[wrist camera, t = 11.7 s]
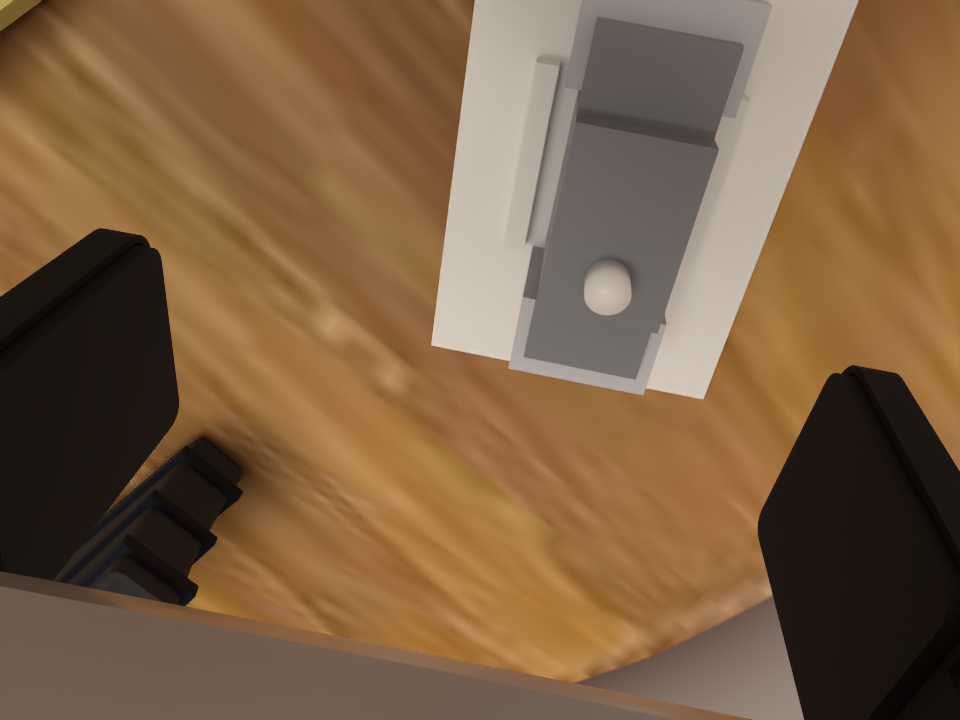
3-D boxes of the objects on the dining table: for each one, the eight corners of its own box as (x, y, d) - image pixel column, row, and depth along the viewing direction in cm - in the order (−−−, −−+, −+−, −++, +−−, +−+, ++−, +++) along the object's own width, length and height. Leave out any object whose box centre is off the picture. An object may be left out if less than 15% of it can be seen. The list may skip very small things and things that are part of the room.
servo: (597, -2, 24) (596, 30, 18) (718, 20, 24) (757, 60, 18) (534, 292, 30) (518, 389, 24) (630, 312, 30) (638, 413, 24)
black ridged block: (49, 557, 43) (-93, 754, 28) (209, 403, 42) (146, 525, 28) (102, 594, 44) (-8, 801, 30) (258, 445, 43) (222, 582, 29)
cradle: (498, -151, 23) (472, -163, 18) (880, -85, 22) (951, -82, 18) (435, 333, 33) (409, 403, 28) (700, 386, 32) (716, 465, 28)
